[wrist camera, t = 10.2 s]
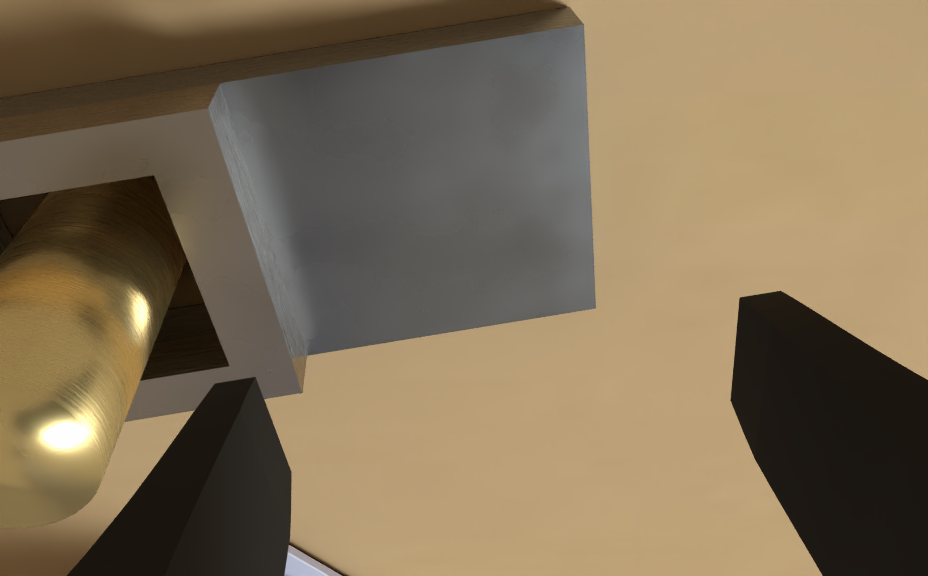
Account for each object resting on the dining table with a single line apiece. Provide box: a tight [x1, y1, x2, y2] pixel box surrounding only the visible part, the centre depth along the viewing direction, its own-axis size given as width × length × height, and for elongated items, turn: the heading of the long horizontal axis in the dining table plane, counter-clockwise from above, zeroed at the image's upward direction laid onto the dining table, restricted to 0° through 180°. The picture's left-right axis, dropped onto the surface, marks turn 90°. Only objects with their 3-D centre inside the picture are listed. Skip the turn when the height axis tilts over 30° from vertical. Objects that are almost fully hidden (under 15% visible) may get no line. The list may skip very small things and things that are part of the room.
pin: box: [0, 176, 187, 528], centre depth 17 cm, size 4×4×8 cm
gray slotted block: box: [0, 7, 596, 422], centre depth 19 cm, size 24×8×3 cm, turn 97°
